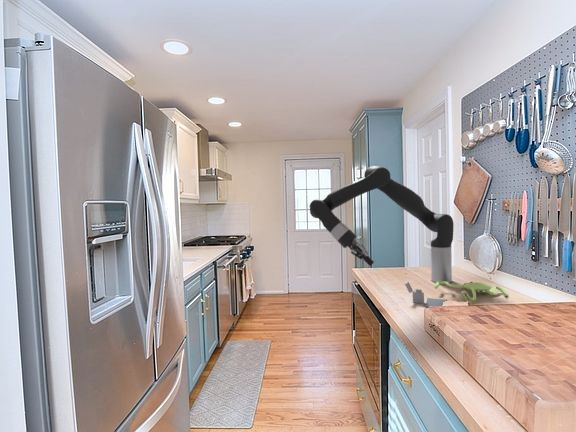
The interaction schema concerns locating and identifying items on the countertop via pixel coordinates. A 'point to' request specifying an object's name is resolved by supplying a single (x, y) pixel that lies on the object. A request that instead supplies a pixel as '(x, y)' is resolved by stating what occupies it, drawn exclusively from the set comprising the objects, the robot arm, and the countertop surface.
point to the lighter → (416, 294)
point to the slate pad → (434, 302)
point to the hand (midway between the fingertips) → (372, 264)
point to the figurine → (473, 288)
